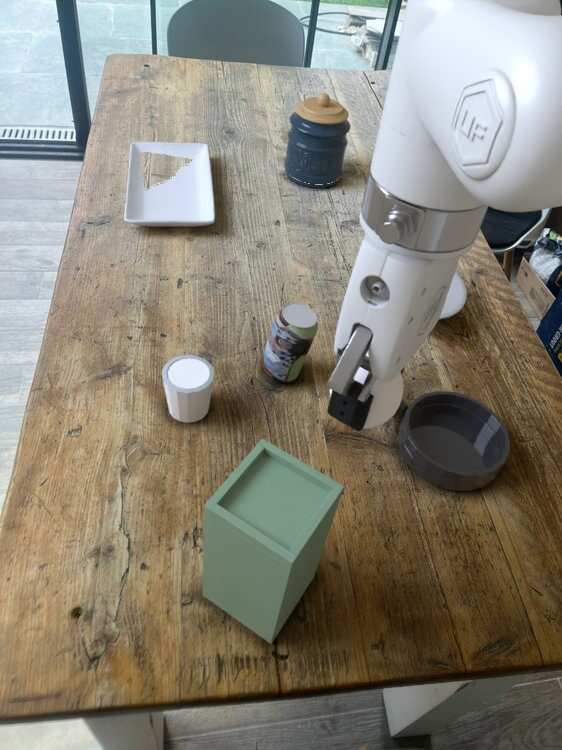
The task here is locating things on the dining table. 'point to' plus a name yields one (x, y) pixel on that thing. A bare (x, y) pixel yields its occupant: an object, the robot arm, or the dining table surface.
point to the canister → (317, 141)
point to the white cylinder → (188, 387)
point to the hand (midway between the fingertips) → (365, 394)
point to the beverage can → (289, 342)
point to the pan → (453, 440)
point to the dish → (454, 297)
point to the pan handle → (402, 407)
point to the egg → (381, 398)
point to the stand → (266, 537)
